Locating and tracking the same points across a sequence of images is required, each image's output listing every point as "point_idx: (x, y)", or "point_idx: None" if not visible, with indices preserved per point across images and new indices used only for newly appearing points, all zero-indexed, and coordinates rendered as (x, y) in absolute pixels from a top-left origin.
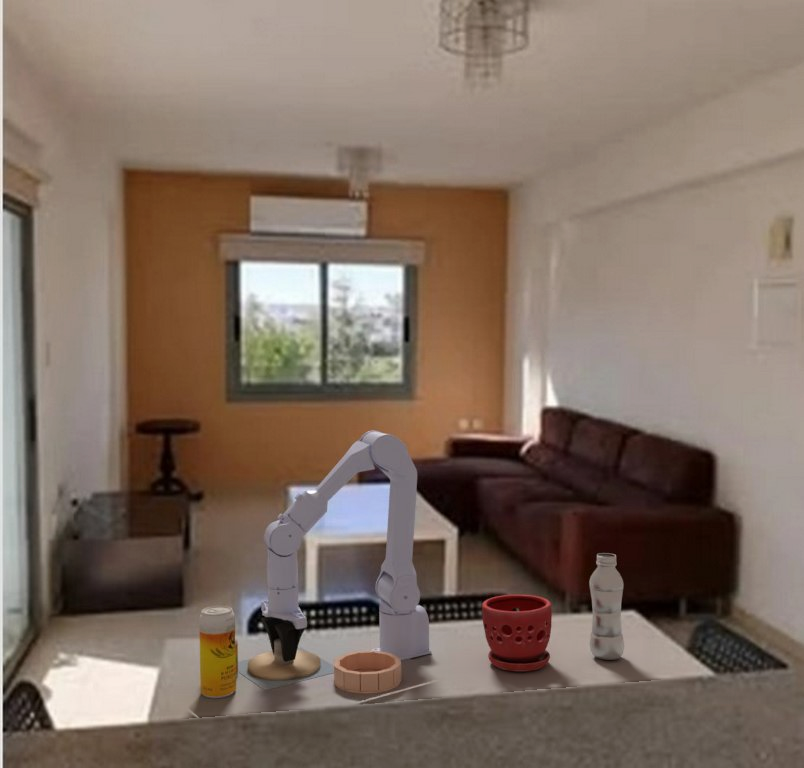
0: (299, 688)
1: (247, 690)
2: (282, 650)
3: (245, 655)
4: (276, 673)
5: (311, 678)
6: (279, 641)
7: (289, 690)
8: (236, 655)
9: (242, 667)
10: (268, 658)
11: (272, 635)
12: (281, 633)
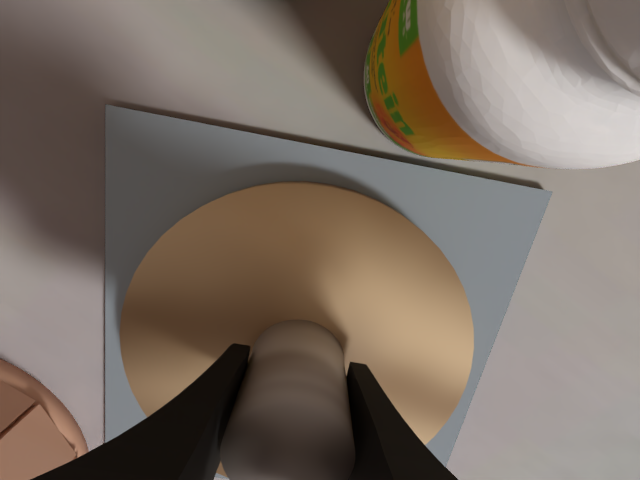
0: (61, 249)
1: (195, 56)
2: (220, 375)
3: (574, 332)
4: (187, 244)
5: (106, 341)
6: (300, 434)
7: (65, 204)
8: (402, 104)
9: (451, 218)
10: (393, 340)
11: (376, 456)
12: (50, 477)
